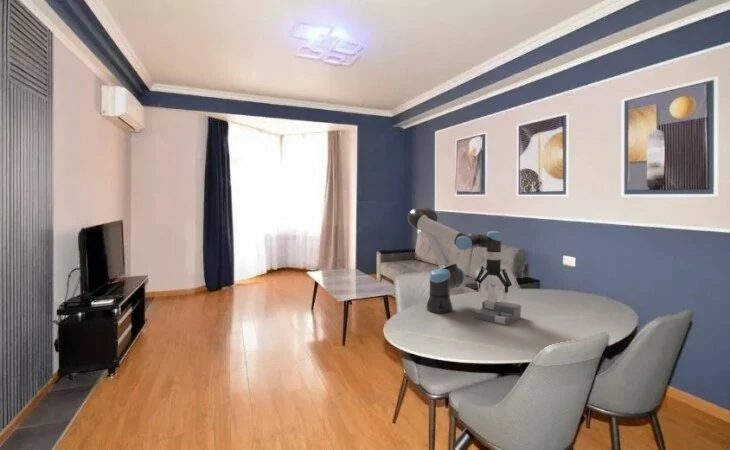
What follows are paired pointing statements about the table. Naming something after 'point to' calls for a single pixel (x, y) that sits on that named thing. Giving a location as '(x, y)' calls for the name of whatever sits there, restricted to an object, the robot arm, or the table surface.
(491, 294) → the cream long block
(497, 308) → the grey socket holder
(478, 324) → the table surface
